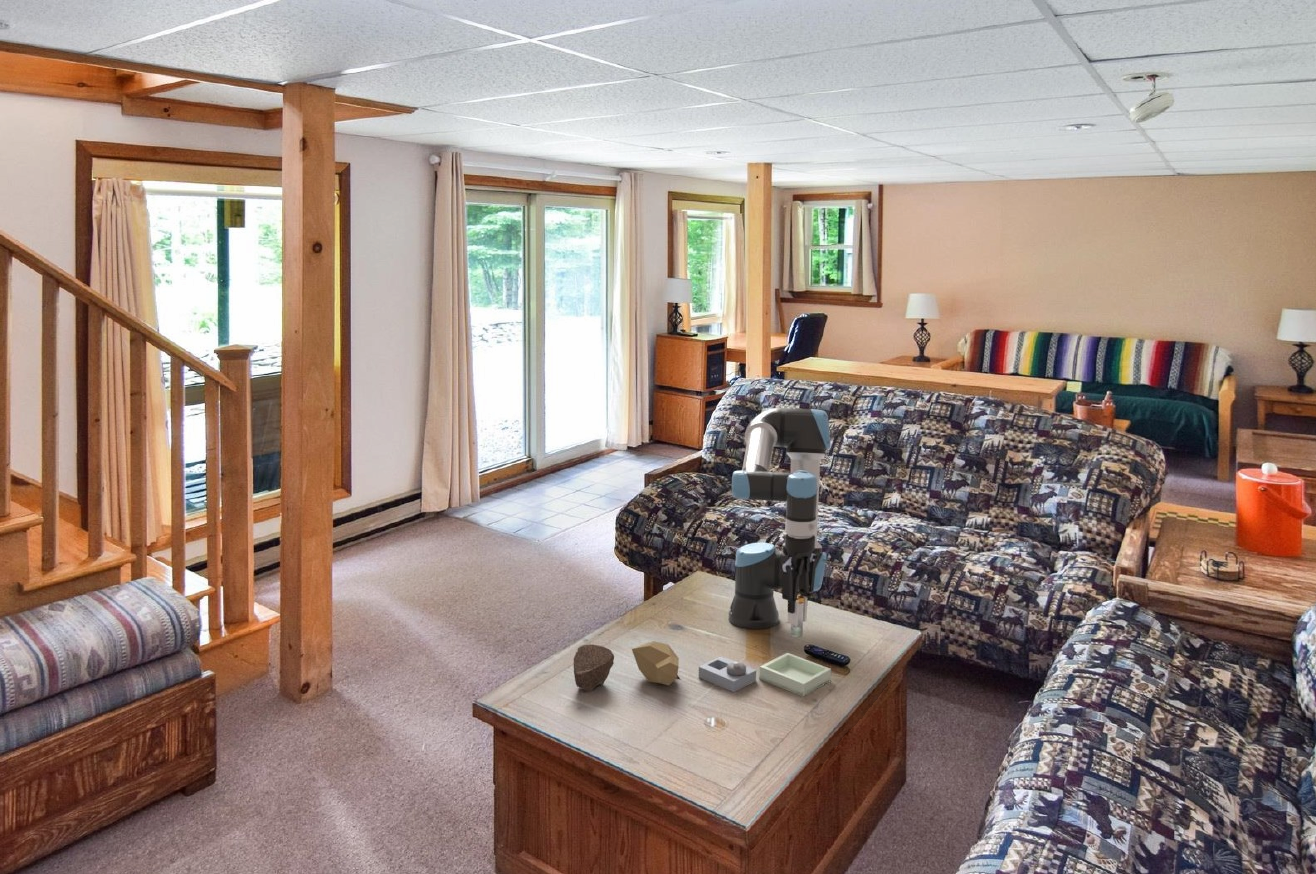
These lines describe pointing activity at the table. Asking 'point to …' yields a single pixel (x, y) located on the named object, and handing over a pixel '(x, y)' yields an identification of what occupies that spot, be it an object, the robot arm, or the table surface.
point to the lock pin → (798, 630)
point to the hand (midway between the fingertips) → (797, 621)
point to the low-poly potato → (657, 662)
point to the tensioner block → (727, 673)
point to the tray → (795, 674)
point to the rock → (592, 666)
